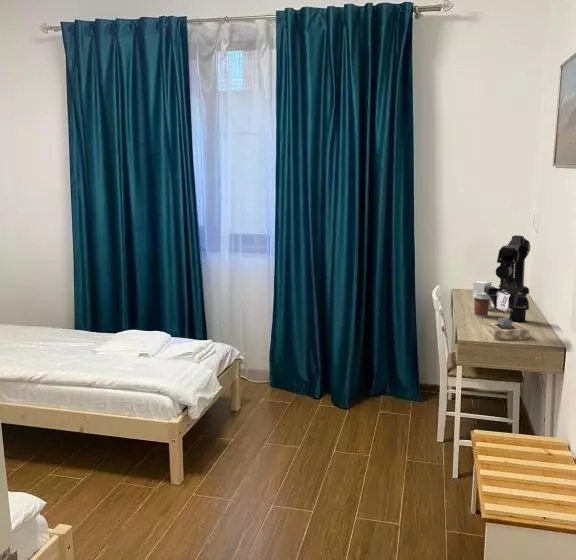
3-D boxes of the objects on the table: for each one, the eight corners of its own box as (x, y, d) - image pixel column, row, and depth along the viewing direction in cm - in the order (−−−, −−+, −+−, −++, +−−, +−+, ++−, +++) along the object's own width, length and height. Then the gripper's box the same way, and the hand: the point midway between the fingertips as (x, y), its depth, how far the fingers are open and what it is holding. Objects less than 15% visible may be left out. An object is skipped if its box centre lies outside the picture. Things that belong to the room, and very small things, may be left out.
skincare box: (491, 309, 327) (492, 282, 324) (484, 311, 323) (485, 283, 321) (478, 306, 333) (480, 279, 331) (471, 308, 330) (472, 281, 328)
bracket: (505, 332, 281) (506, 317, 280) (513, 337, 273) (513, 322, 272) (497, 332, 281) (498, 318, 279) (504, 337, 273) (505, 322, 272)
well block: (515, 330, 284) (516, 322, 283) (529, 338, 270) (529, 330, 270) (481, 331, 283) (482, 323, 282) (493, 339, 269) (494, 331, 269)
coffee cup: (494, 316, 310) (495, 293, 308) (478, 318, 308) (479, 295, 305) (483, 313, 319) (484, 290, 317) (468, 314, 316) (469, 291, 314)
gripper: (494, 278, 265) (492, 313, 268) (535, 277, 266) (533, 312, 269) (484, 274, 276) (482, 307, 279) (524, 273, 277) (522, 306, 280)
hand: (505, 308), depth 276 cm, fingers open, 9 cm apart
